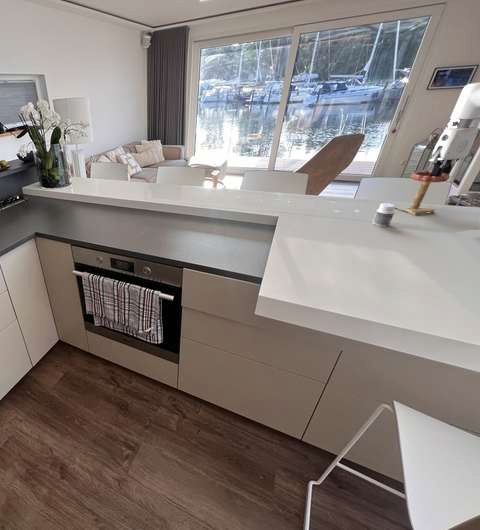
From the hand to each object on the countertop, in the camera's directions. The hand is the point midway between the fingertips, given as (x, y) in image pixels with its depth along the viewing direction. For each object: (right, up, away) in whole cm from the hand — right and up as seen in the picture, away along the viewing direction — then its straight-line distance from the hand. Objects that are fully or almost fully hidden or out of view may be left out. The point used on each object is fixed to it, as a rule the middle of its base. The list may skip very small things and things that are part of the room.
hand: (438, 177), depth 109 cm
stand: (-3, -12, +6) cm, 13 cm away
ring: (-4, 0, -1) cm, 4 cm away
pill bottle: (-25, -20, -3) cm, 32 cm away
